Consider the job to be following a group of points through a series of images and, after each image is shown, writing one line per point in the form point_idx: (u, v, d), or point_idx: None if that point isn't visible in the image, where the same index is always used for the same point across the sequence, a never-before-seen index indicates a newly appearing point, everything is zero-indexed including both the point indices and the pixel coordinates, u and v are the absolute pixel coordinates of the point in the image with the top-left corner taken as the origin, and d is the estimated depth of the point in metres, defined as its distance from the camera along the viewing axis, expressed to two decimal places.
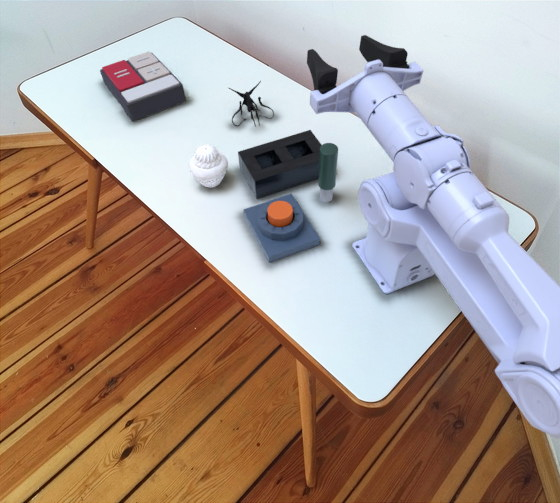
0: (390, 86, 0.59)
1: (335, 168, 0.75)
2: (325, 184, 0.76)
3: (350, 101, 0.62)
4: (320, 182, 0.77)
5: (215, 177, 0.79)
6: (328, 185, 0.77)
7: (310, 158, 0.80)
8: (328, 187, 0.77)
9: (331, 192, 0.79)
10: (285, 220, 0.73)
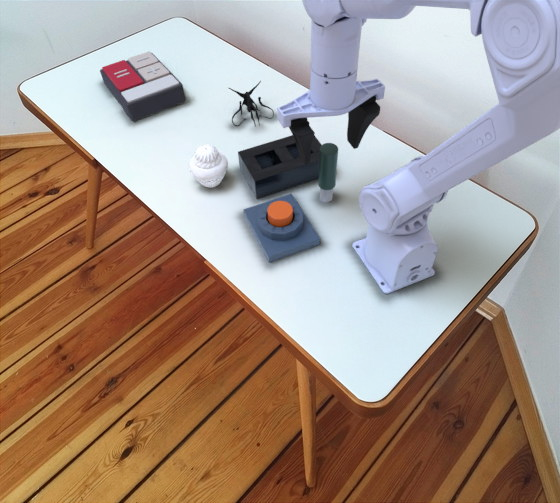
0: None
1: (335, 168, 0.75)
2: (325, 184, 0.76)
3: (313, 102, 0.65)
4: (320, 182, 0.77)
5: (215, 177, 0.79)
6: (328, 185, 0.77)
7: None
8: (328, 187, 0.77)
9: (331, 192, 0.79)
10: (285, 220, 0.73)
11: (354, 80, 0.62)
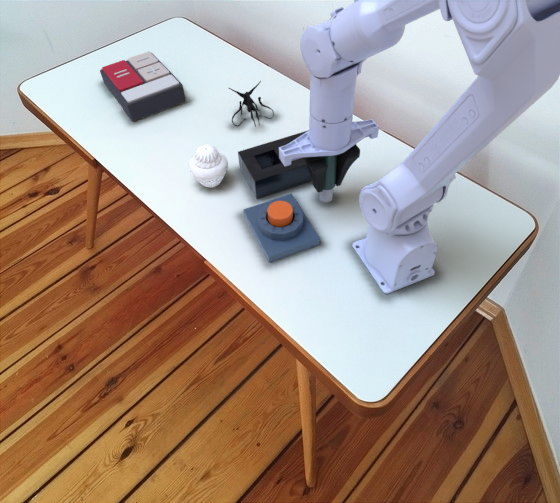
0: None
1: (335, 168, 0.75)
2: (325, 184, 0.76)
3: (312, 143, 0.70)
4: None
5: (215, 177, 0.79)
6: (328, 185, 0.77)
7: None
8: (328, 187, 0.77)
9: (331, 192, 0.79)
10: (285, 220, 0.73)
11: (350, 124, 0.68)
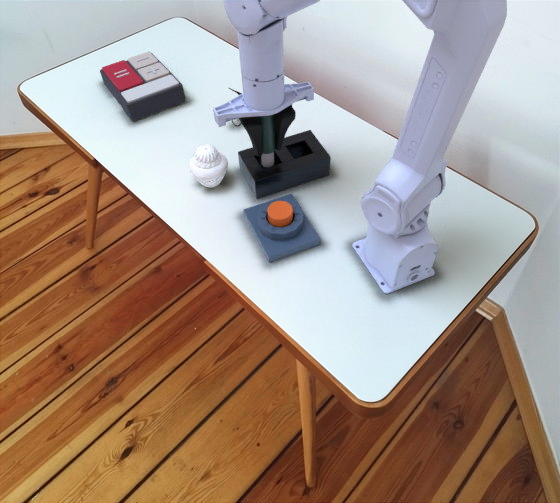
0: None
1: (272, 131, 0.75)
2: (264, 147, 0.77)
3: (246, 103, 0.71)
4: None
5: (215, 177, 0.79)
6: (267, 149, 0.77)
7: (310, 158, 0.80)
8: (267, 151, 0.78)
9: (271, 156, 0.79)
10: (285, 220, 0.73)
11: (281, 83, 0.68)
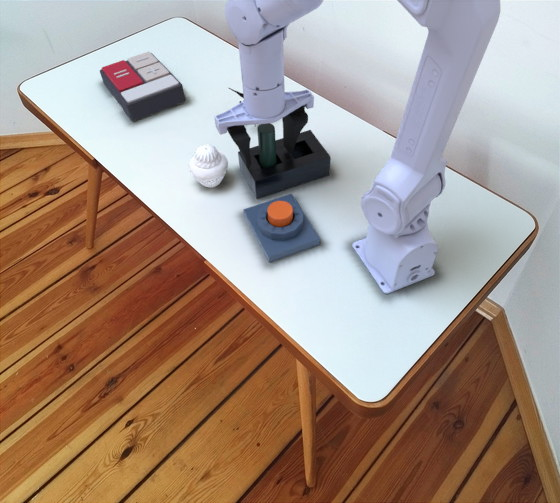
0: None
1: (273, 147, 0.78)
2: (265, 163, 0.80)
3: (246, 111, 0.72)
4: (261, 161, 0.80)
5: (215, 177, 0.79)
6: (268, 164, 0.80)
7: (310, 158, 0.80)
8: (268, 166, 0.80)
9: None
10: (285, 220, 0.73)
11: (281, 92, 0.69)
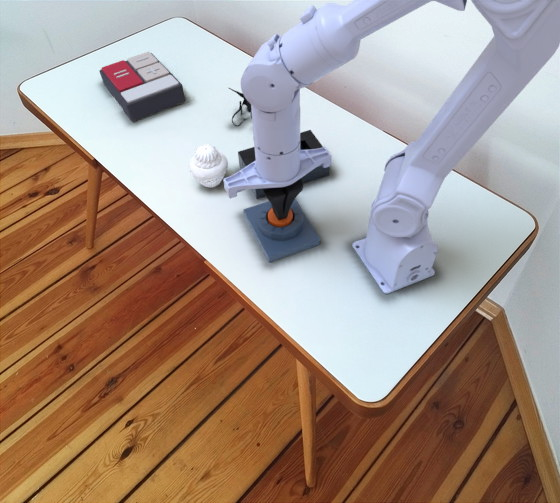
0: None
1: None
2: None
3: (258, 173, 0.66)
4: None
5: (215, 177, 0.79)
6: None
7: None
8: None
9: None
10: (285, 225, 0.73)
11: (297, 154, 0.63)
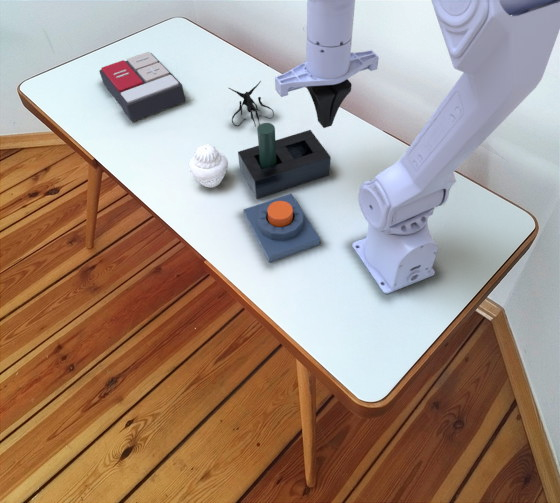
0: None
1: (273, 147, 0.78)
2: (265, 163, 0.80)
3: (309, 72, 0.67)
4: (261, 161, 0.80)
5: (215, 177, 0.79)
6: (268, 164, 0.80)
7: (310, 158, 0.80)
8: (268, 166, 0.80)
9: None
10: (285, 220, 0.73)
11: (349, 49, 0.65)
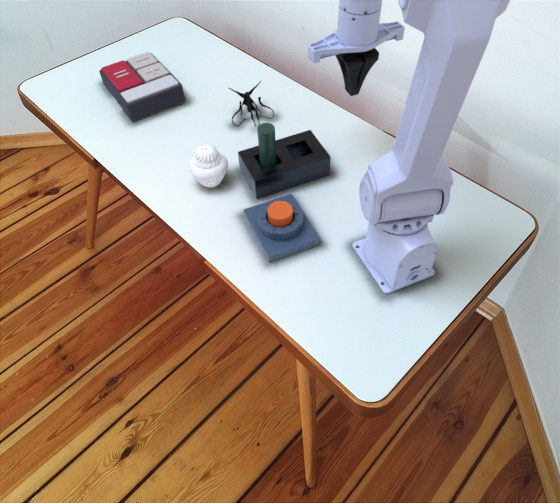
0: None
1: (273, 147, 0.78)
2: (265, 163, 0.80)
3: (340, 40, 0.72)
4: (261, 161, 0.80)
5: (215, 177, 0.79)
6: (268, 164, 0.80)
7: (310, 158, 0.80)
8: (268, 166, 0.80)
9: None
10: (285, 220, 0.73)
11: (378, 18, 0.69)
